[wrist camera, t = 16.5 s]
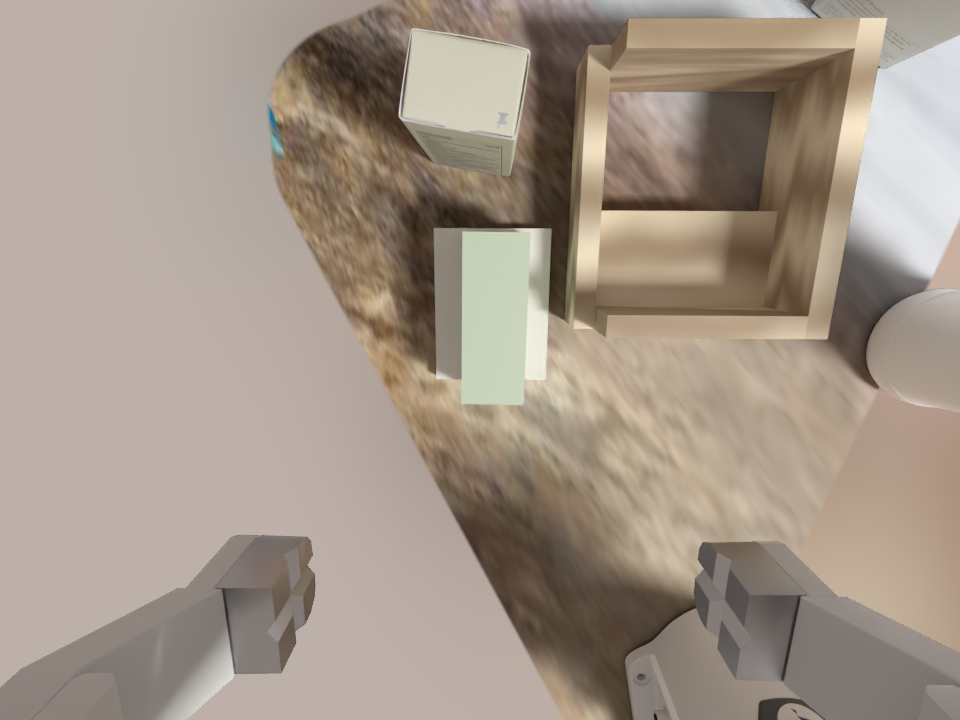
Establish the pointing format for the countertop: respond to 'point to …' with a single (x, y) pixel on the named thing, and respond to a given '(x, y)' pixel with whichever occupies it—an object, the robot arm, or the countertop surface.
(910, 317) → the vodka
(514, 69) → the skincare box
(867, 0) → the supplement box
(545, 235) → the mat
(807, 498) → the countertop surface
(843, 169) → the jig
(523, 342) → the block
